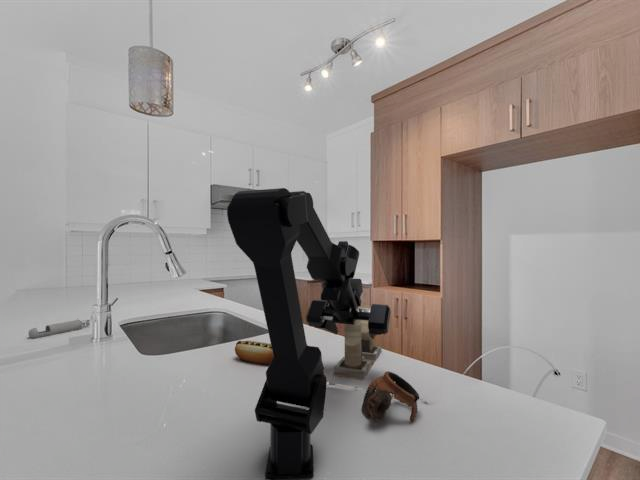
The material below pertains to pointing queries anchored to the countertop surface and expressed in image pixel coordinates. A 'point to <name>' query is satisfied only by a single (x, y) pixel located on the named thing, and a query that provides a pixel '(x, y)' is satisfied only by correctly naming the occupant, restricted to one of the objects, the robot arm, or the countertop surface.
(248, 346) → the hot dog
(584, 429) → the countertop surface
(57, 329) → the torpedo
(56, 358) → the countertop surface
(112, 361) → the countertop surface
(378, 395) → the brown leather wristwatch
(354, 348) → the beige round canister
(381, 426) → the countertop surface
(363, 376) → the double slot holder
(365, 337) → the long tan cylinder
